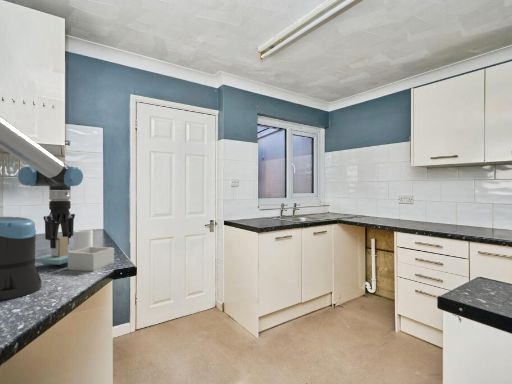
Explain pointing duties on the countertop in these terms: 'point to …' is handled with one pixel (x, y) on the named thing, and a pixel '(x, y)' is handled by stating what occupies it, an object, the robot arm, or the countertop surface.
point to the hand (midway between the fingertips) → (59, 254)
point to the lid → (62, 253)
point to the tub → (90, 258)
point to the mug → (82, 239)
